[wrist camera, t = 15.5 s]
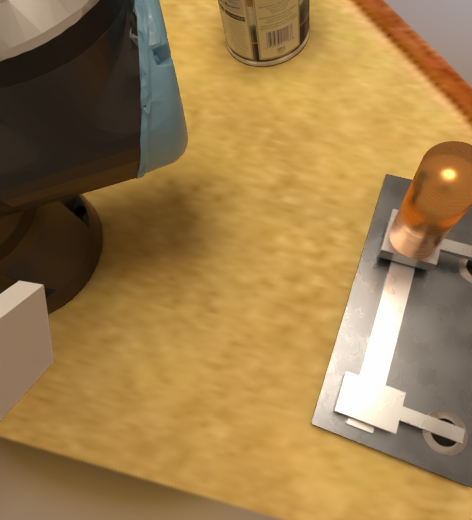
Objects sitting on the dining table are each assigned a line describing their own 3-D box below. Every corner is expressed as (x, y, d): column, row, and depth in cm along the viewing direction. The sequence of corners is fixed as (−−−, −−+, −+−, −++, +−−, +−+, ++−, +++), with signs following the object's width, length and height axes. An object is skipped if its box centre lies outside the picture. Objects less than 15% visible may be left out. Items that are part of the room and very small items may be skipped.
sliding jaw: (376, 259, 37) (410, 187, 25) (387, 221, 38) (425, 134, 26) (481, 289, 34) (572, 225, 23) (490, 247, 35) (580, 165, 24)
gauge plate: (310, 423, 34) (312, 423, 30) (384, 179, 41) (391, 157, 37) (466, 485, 31) (487, 494, 27) (517, 210, 38) (539, 189, 34)
